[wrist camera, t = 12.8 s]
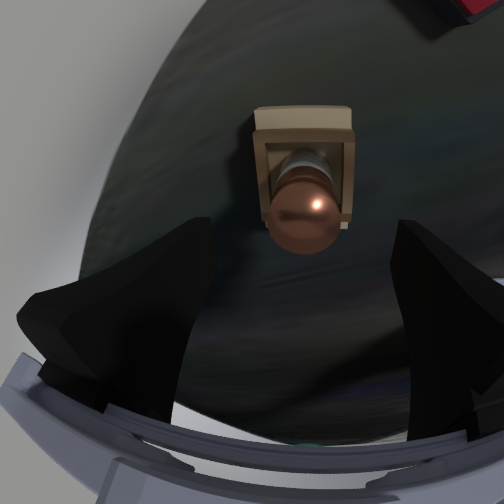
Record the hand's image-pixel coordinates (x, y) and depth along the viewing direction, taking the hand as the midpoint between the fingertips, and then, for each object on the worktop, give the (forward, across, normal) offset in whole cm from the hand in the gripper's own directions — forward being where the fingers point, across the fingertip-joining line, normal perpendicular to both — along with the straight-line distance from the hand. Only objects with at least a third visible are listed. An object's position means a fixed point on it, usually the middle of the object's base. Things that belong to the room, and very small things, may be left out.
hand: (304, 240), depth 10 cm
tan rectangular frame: (+10, 0, 0) cm, 10 cm away
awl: (+8, 0, 0) cm, 8 cm away
